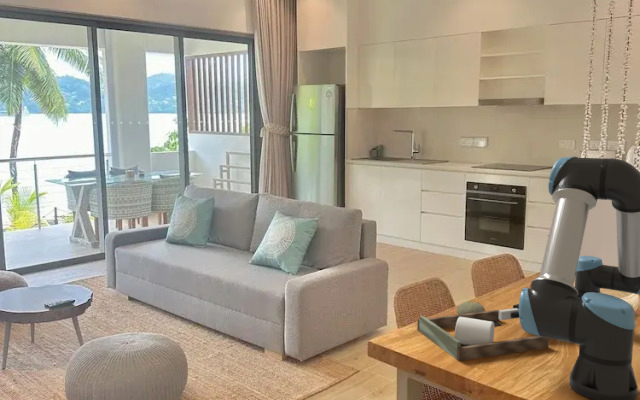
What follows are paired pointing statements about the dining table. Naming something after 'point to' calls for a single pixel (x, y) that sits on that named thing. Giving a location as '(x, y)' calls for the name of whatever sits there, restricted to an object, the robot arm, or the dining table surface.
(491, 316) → the wooden tray
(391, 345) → the dining table surface
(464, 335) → the mug
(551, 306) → the robot arm
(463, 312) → the sea urchin shell
